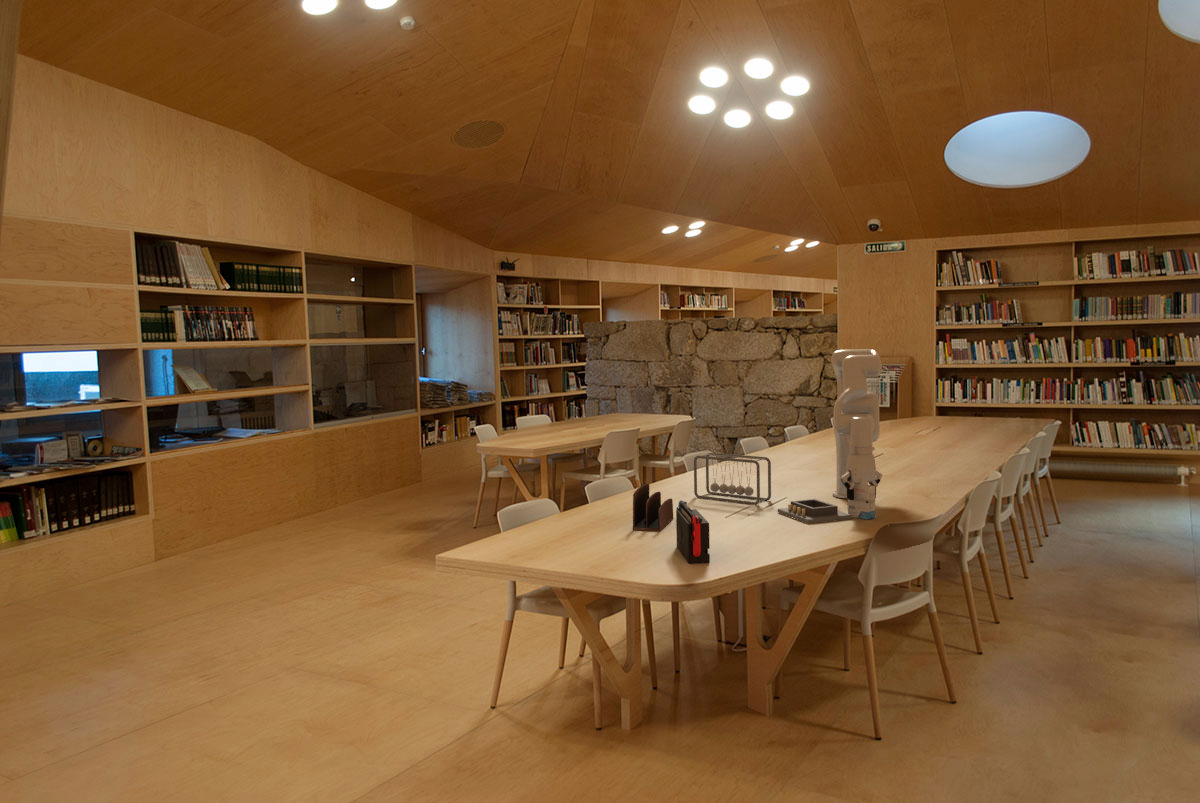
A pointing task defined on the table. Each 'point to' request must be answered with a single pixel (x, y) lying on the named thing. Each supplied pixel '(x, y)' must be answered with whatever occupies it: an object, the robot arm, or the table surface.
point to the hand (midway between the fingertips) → (861, 498)
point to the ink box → (862, 501)
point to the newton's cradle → (732, 488)
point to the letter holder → (650, 510)
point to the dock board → (813, 511)
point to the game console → (692, 534)
